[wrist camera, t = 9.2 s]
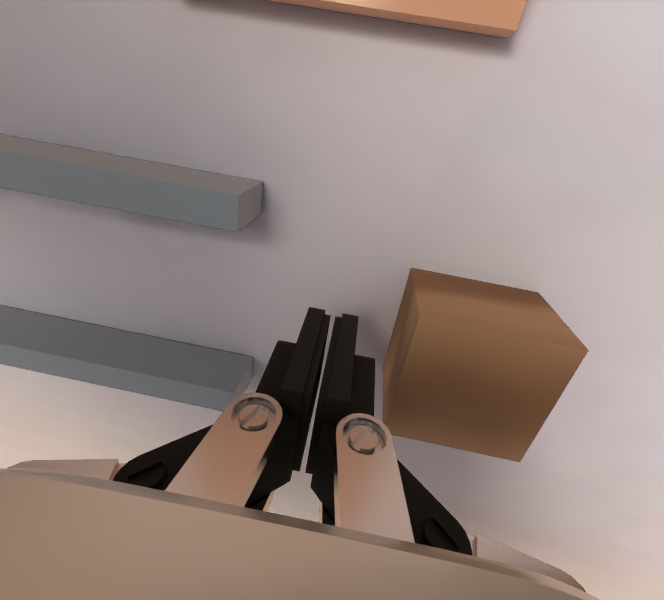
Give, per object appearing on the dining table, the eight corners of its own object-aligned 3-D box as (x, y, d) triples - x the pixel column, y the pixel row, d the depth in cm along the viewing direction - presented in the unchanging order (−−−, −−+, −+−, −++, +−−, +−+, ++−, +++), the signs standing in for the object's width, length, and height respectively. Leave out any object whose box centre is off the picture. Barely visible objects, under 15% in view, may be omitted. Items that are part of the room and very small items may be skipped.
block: (410, 266, 14) (419, 316, 11) (537, 291, 14) (588, 350, 10) (382, 364, 17) (382, 432, 13) (490, 387, 16) (520, 461, 13)
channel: (-181, 101, 14) (-285, 99, 12) (262, 181, 13) (238, 194, 11) (-85, 306, 19) (-148, 332, 16) (252, 376, 18) (233, 413, 16)
